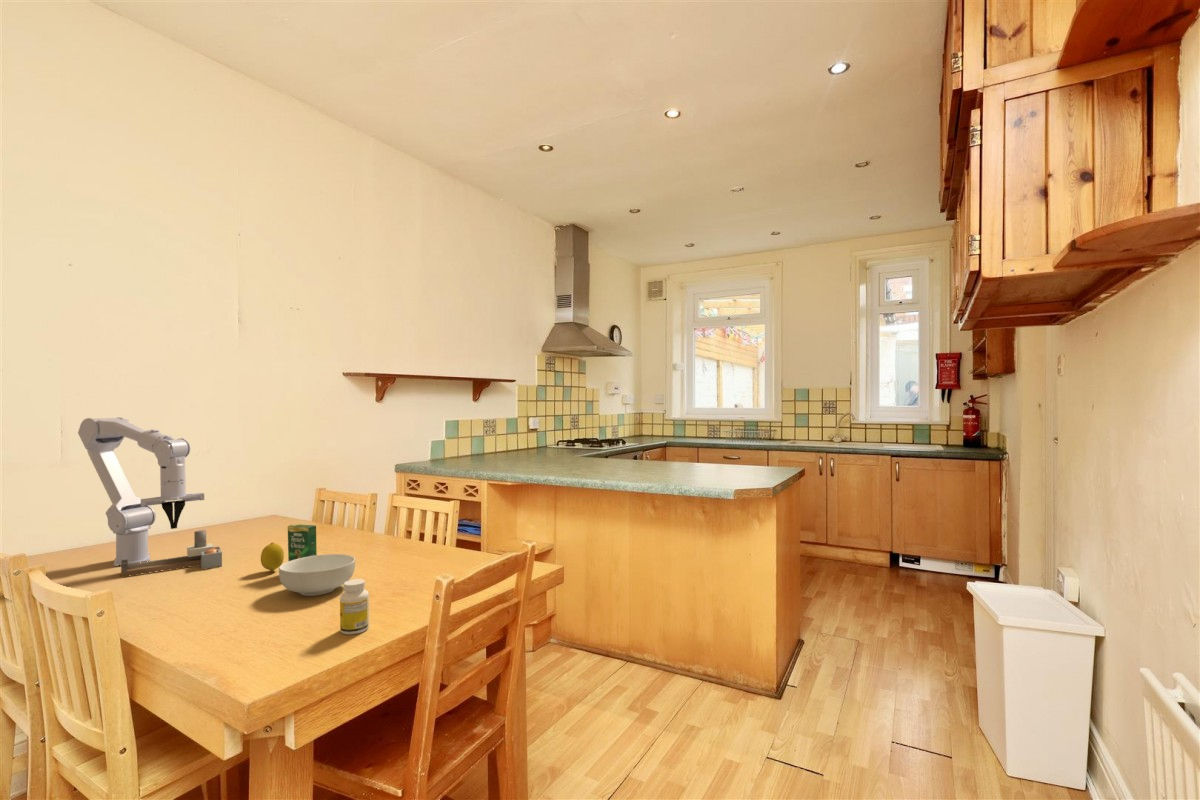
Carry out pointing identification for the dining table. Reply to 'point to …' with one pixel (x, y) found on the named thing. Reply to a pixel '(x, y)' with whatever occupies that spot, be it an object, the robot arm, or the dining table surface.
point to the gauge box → (211, 559)
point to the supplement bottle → (354, 607)
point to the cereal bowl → (316, 573)
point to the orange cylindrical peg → (211, 551)
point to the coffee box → (301, 541)
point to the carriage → (199, 544)
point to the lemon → (272, 556)
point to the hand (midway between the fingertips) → (173, 528)
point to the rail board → (159, 565)
